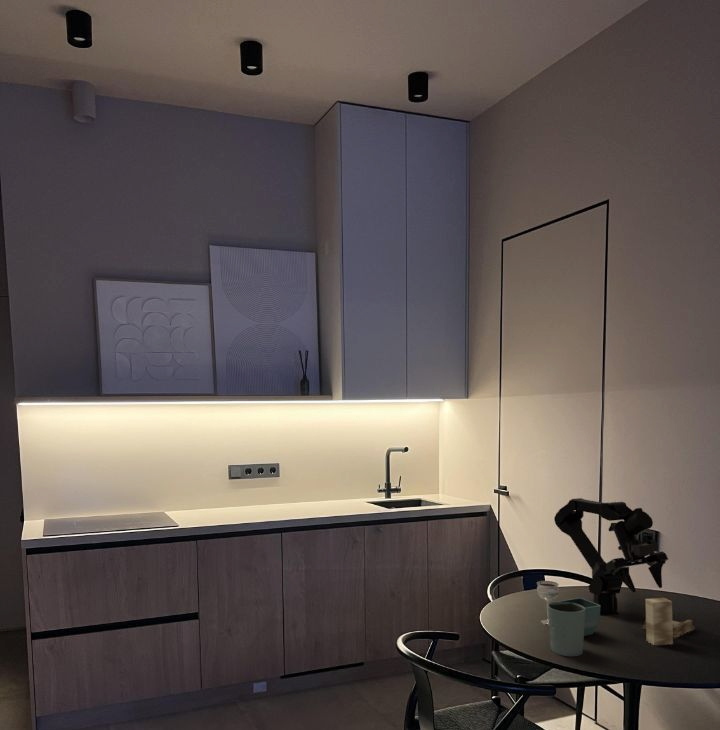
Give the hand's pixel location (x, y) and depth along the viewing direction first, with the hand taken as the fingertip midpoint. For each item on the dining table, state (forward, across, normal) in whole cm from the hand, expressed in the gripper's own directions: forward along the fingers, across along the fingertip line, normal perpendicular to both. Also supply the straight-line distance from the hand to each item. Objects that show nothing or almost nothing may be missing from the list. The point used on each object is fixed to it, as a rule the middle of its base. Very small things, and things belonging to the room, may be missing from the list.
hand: (647, 590), depth 201 cm
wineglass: (+2, -27, +17) cm, 32 cm away
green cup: (+13, -34, -3) cm, 36 cm away
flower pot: (+8, -23, +7) cm, 25 cm away
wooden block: (+15, -5, -3) cm, 16 cm away
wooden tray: (+11, +5, +6) cm, 14 cm away
